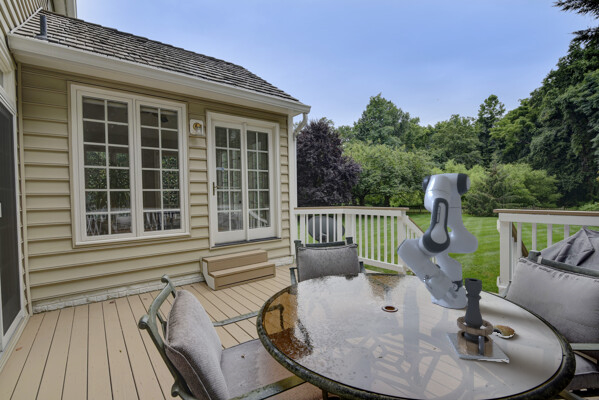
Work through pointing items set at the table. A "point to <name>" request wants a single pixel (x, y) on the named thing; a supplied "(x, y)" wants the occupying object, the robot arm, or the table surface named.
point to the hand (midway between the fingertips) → (455, 301)
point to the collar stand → (472, 349)
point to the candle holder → (473, 307)
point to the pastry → (503, 330)
